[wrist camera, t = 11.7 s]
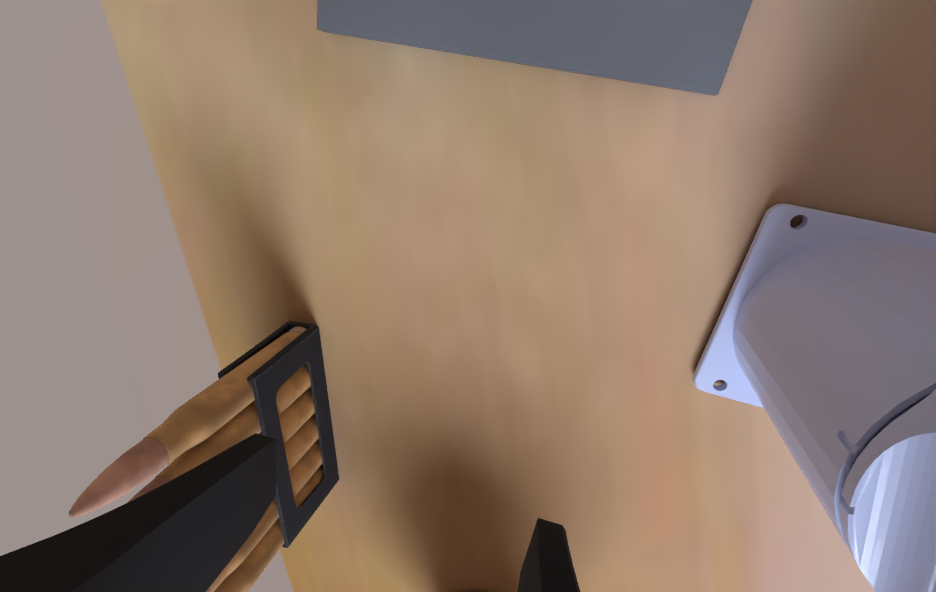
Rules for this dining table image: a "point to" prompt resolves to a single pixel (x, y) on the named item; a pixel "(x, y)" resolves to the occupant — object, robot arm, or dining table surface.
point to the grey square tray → (562, 34)
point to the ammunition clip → (234, 419)
